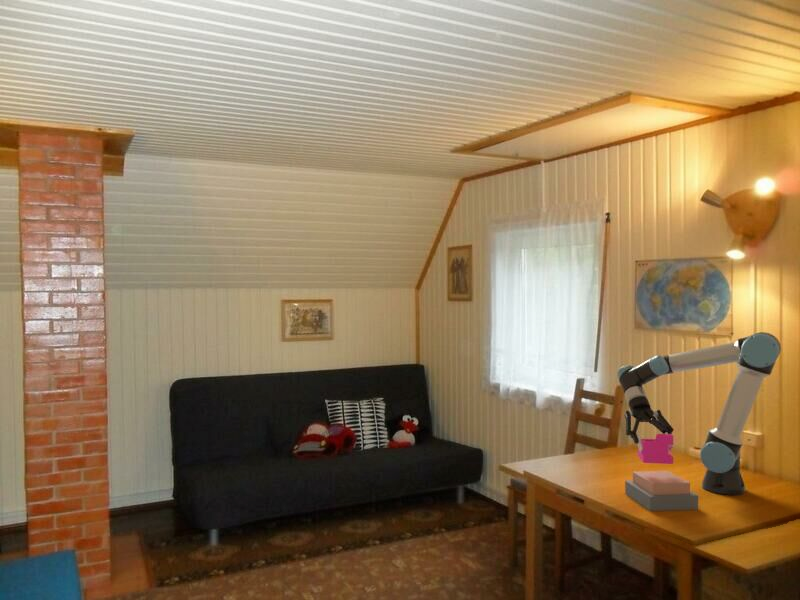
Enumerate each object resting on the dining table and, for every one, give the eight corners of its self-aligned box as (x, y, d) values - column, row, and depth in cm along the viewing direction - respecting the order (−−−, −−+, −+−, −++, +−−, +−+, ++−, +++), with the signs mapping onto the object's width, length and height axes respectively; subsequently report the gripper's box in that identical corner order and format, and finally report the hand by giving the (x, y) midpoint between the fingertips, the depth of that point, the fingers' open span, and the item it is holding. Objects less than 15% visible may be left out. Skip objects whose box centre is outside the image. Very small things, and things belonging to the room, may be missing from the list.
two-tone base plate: (669, 492, 257) (670, 469, 257) (698, 509, 237) (698, 484, 237) (625, 493, 255) (625, 470, 255) (649, 510, 235) (650, 485, 235)
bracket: (673, 464, 240) (673, 435, 240) (643, 462, 242) (643, 434, 242) (665, 456, 252) (665, 429, 252) (637, 455, 254) (637, 428, 254)
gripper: (662, 405, 264) (683, 454, 249) (606, 407, 262) (623, 456, 247) (668, 394, 259) (690, 443, 243) (611, 395, 257) (629, 445, 241)
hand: (656, 449), depth 245 cm, fingers closed on bracket, 10 cm apart
